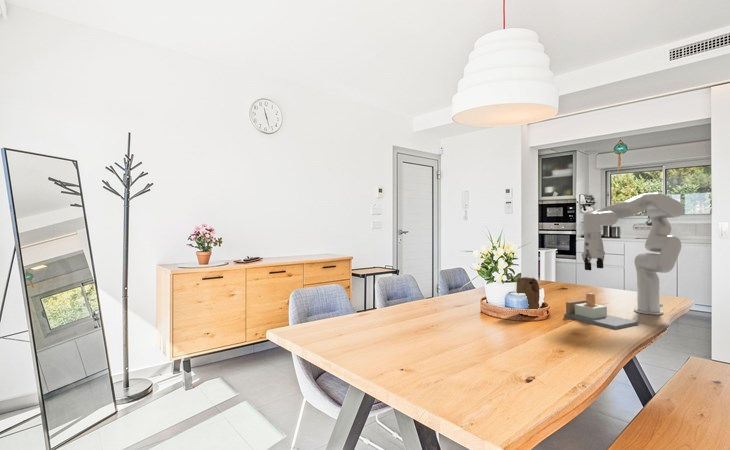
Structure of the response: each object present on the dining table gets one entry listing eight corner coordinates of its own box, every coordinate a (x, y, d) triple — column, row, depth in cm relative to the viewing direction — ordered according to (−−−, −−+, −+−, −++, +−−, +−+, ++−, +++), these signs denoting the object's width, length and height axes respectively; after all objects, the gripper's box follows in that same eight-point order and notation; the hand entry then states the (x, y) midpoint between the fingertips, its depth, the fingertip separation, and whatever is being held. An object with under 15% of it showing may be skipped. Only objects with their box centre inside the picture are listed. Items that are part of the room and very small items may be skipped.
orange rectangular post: (589, 312, 193) (589, 292, 193) (597, 313, 189) (597, 293, 189) (584, 313, 191) (584, 293, 191) (592, 314, 188) (591, 294, 188)
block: (515, 314, 202) (514, 277, 202) (524, 312, 206) (523, 275, 206) (532, 318, 193) (532, 279, 193) (542, 316, 196) (541, 278, 196)
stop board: (586, 313, 202) (585, 299, 202) (638, 324, 178) (638, 308, 178) (564, 316, 195) (564, 302, 195) (615, 329, 171) (615, 312, 171)
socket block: (587, 312, 197) (587, 302, 197) (606, 316, 188) (606, 306, 188) (574, 314, 193) (574, 304, 193) (593, 318, 184) (593, 308, 184)
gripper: (589, 237, 188) (590, 271, 188) (610, 235, 195) (611, 268, 195) (574, 237, 194) (576, 270, 194) (596, 235, 202) (597, 266, 202)
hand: (594, 269), depth 195 cm, fingers open, 9 cm apart
